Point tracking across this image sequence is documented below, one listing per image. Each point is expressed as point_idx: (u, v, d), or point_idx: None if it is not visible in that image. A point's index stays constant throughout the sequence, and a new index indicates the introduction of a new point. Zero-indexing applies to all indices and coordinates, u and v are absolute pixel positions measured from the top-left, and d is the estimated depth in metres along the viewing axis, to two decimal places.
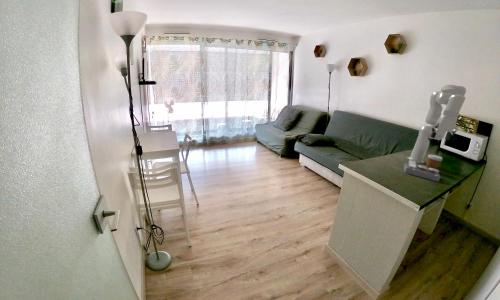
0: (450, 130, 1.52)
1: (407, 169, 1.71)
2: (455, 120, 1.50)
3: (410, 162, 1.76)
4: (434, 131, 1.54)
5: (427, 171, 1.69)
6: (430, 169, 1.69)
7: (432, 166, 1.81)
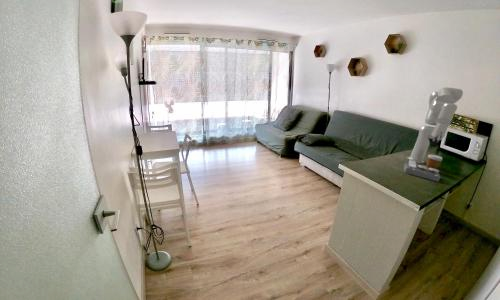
0: None
1: (407, 169, 1.71)
2: None
3: (410, 162, 1.76)
4: (437, 142, 1.60)
5: (427, 171, 1.69)
6: (430, 169, 1.69)
7: (432, 166, 1.81)
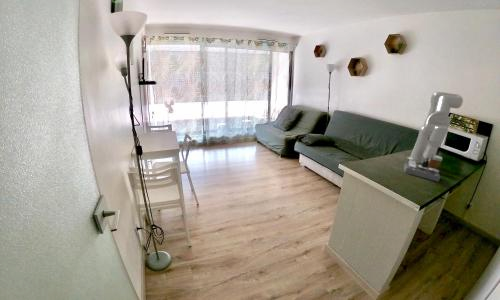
0: None
1: (407, 169, 1.71)
2: None
3: (410, 162, 1.76)
4: None
5: (427, 171, 1.69)
6: (430, 169, 1.69)
7: (432, 166, 1.81)
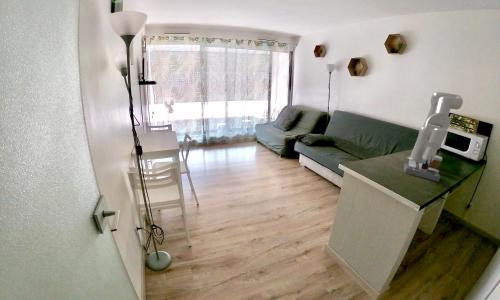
0: None
1: (407, 169, 1.71)
2: None
3: (410, 162, 1.76)
4: (428, 164, 1.65)
5: (427, 171, 1.69)
6: (430, 169, 1.69)
7: (432, 166, 1.81)
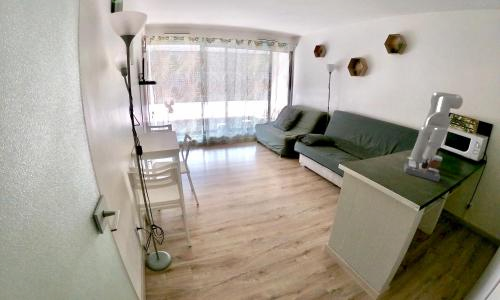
0: None
1: (407, 169, 1.71)
2: None
3: (410, 162, 1.76)
4: None
5: (427, 171, 1.69)
6: (430, 169, 1.69)
7: (432, 166, 1.81)
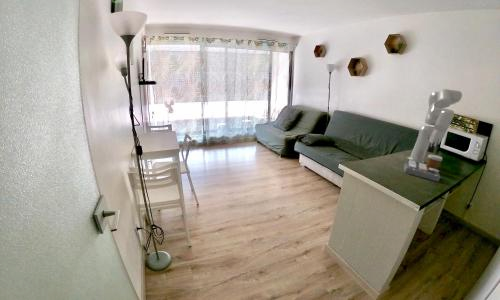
0: None
1: (407, 169, 1.71)
2: None
3: (410, 162, 1.76)
4: None
5: (427, 171, 1.69)
6: (430, 169, 1.69)
7: (432, 166, 1.81)
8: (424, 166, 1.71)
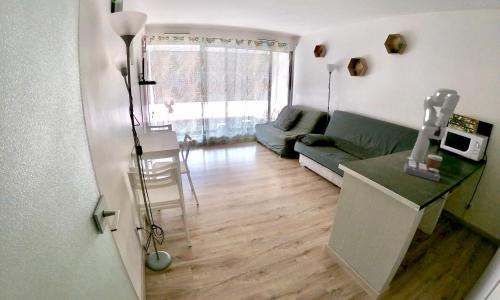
0: None
1: (407, 169, 1.71)
2: None
3: (410, 162, 1.76)
4: (441, 131, 1.67)
5: (427, 171, 1.69)
6: (430, 169, 1.69)
7: (432, 166, 1.81)
8: (424, 166, 1.71)
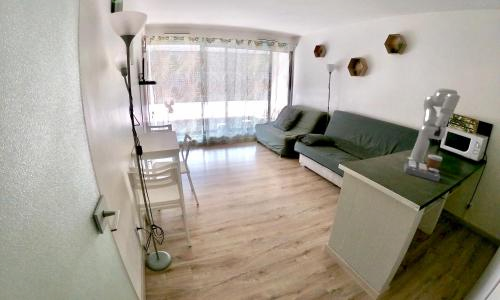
0: None
1: (407, 169, 1.71)
2: None
3: (410, 162, 1.76)
4: (441, 131, 1.67)
5: (427, 171, 1.69)
6: (430, 169, 1.69)
7: (432, 166, 1.81)
8: (424, 166, 1.71)
